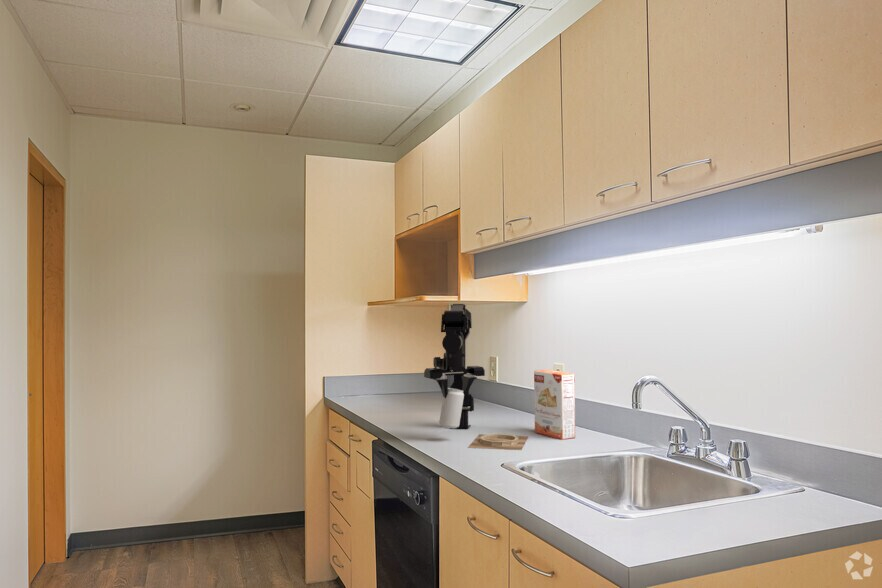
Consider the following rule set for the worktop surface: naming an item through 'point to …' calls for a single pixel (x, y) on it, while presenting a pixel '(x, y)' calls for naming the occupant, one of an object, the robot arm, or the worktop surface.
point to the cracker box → (554, 403)
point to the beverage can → (452, 408)
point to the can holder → (499, 441)
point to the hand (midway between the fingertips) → (454, 399)
